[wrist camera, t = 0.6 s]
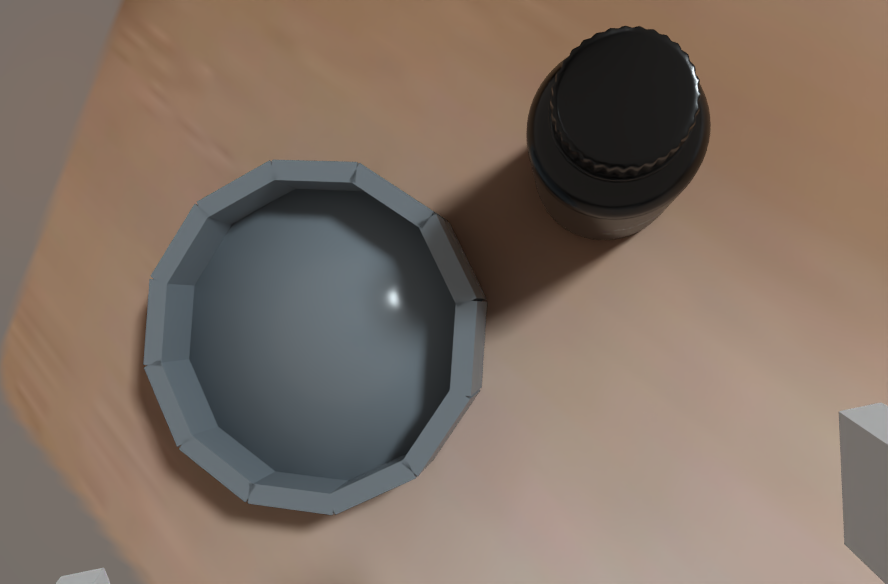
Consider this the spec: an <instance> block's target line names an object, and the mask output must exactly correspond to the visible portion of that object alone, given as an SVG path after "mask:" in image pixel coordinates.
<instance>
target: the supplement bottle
mask: <svg viewBox="0 0 888 584" xmlns="http://www.w3.org/2000/svg"><path fill="white" fill-rule="evenodd" d="M699 82H700V80H699V78H698V77H697V76H696V74H695V66H694V65H693V64H692V63H691V62H690V60H689V56H688V54H687V53H686V52H684V51H682V50H681V47H680V46H679V44H678V43H676V42H673V41H671V40H670V38H669V37H668V36H667V35H661V34H659V33H658V32H657V31H655V30H654V29H648V30H646V29H644V28H642V27H640V26H638V27H634V28H631V27H628V26H623V27H621V28H619V29H616V28H610V29H608V30H607V31H605V32H600V33H596V34H595V35H594V36H593V37H592V38H590V39H586V40H583V42H582V43H581V45H580V46H579V47H576V48H574V49H573V50H572V51H571V53H570V56H568V57H567V58H566V59H564V60H563V61H562V62H560V63H559V64H558V65H557V66H556V67H555V68H554V69H553V70H552V71H551V72H550V73H549V74H548V76H547V77H546V78H545V80H544V81H543V82H542V84H541V85H540V87H539V89H538V90H537V92H536V94H535V97H534V99H533V101H532V104H531V107H530V111H529V115H528V121H527V147H528V153H529V158H530V162H531V166H532V170H533V175H534V179H535V183H536V187H537V190H538V193H539V196H540V199H541V201H542V203H543V205H544V207H545V208H546V210H547V211H548V213H549V214H550V215H551V216H552V217H553V219H554V220H555V221H556V222H558V223H559V224H560V225H561V226H562V227H564V228H565V229H567V230H569V231H570V232H572V233H574V234H576V235H579V236H582V237H585V238H589V239H596V240H613V239H619V238H623V237H626V236H629V235H632V234H634V233H636V232H639V231H640V230H642V229H644V228H645V227H647V226H648V225H650V224H651V223H652V222H653V221H654V220H655V219H657V218H658V217H659V216H660V215H661V214H662V213H663V211H664V210H665V209H666V208H667V207H668V206H669V205H670V204H671V203H672V202H673V201H674V200H675V199H676V197H677V196H678V195H679V194H680V193H681V192H682V191H683V190H684V189H685V188H686V187H687V185H688V184H689V183H690V182H691V180H692V179H693V177H694V176H695V174H696V173H697V171H698V169H699V167H700V165H701V163H702V161H703V159H704V156H705V154H706V151H707V147H708V143H709V137H710V113H709V107H708V103H707V99H706V96H705V94H704V91H703V89H702V87H701V85H700V83H699Z"/></svg>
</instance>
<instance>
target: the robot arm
mask: <svg viewBox="0 0 888 584" xmlns="http://www.w3.org/2000/svg"><path fill="white" fill-rule="evenodd" d="M839 429H840V452H841V475H842V498H843V521H844V544H845V545H846V546H847V547H848V548H849V549H850V550H851V551H852V552H853V553H854V554H855V555H856V556H857V557H858V558H859V559H860V560H861V561H862V562H864V563H865V564H866V565H867V566H868V567H869V568H870V569H871V570H872V571H873V572H874V573H875V574H876V575H877V576H878V577H879V578H880V579H881V580H882V581H883V582H884V583H885V584H888V406H886V405H884V404H883V403H876V404H872V405H867V406H862V407H858V408H853V409H848V410H844V411H839ZM56 584H110V582H109V579H108V576H107V574H106V571H105V569H104V568H99V569H95V570H90V571H85V572H80V573H76V574H71V575H67V576H62V577H60V578H59V580H58V581H57V582H56Z"/></svg>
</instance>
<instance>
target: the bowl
mask: <svg viewBox="0 0 888 584" xmlns="http://www.w3.org/2000/svg"><path fill="white" fill-rule="evenodd" d="M197 204H198V205H197ZM197 204H194V206H193V207H192V209H191V211H190V212H189V214H188V216H187V217H186V219H185V221H184V222H183V224H182V225H181V227H180V229H179V230H178V232H177V234H176V235H175V237H174V239H173V240H172V242H171V243H170V245H169V247H168V248H167V250H166V252H165V253H164V255H163V257H162V258H161V260H160V262H159V263H158V265H157V266H156V268H155V270H154V271H153V273H152V275H151V277H152V278H154V279H150V281H149V295H148V308H147V322H146V336H145V350H144V363H143V365H148V366H146V367H144V369H145V371H146V374H147V376H148V379H149V381H150V383H151V386H152V388H153V391H154V393H155V395H156V398H157V400H158V402H159V405H160V407H161V410H162V412H163V414H164V417H165V419H166V421H167V424H168V426H169V429H170V431H171V433H172V436H173V438H174V441H175V443H176V445H177V447H178V446H181V447H180V448H179V450H181V451H182V452H183V453H184V454H186V455H187V456H188V457H189V458H191V459H192V460H193V461H194V462H196V463H197V464H198V465H199V466H201V467H202V468H203V469H204V470H206V471H207V472H208V473H209V474H211V475H212V476H213V477H214V478H215V479H217V480H218V481H219V482H220V483H222V484H223V485H224V486H225V487H227V488H228V489H229V490H230V491H232V492H233V493H234V494H235V495H237V496H238V497H239V498H240V499H242V500H243V501H244V502H247V501H248V504H255V505H262V506H269V507H277V508H284V509H291V510H299V511H306V512H313V513H320V514H328V515H333V514H334V513H335V515H336V514H338V513H340V512H342V511H345V510H347V509H349V508H351V507H353V506H356V505H358V504H360V503H362V502H364V501H367V500H369V499H371V498H373V497H375V496H378V495H380V494H382V493H384V492H386V491H389V490H391V489H393V488H395V487H397V486H400V485H402V484H404V483H406V482H408V481H411V480H413V479H415V478H416V477H417V476H419V475H420V474H421V472H422V471H423V470H424V469H425V468H426V467H427V466H428V465H429V464H430V463H431V462H432V461H433V460H434V459H435V457H436V456H437V454H438V453H439V451H440V450H441V448H442V447H443V445H444V444H445V442H446V441H447V439H448V438H449V436H450V435H451V433H452V432H453V430H454V429H455V427H456V426H457V424H458V423H459V421H460V420H461V419H462V417H463V416H464V414H465V413H466V411H467V410H468V408H469V407H470V405H471V404H472V402H473V401H474V399H475V398H476V396H477V395H478V393H479V392H480V388H481V387H482V373H483V358H484V343H485V328H486V313H487V302H482V301H484V300H486V297H485V294H484V292H483V290H482V288H481V286H480V284H479V282H478V280H477V278H476V276H475V274H474V272H473V270H472V268H471V266H470V264H469V262H468V260H467V258H466V256H465V253H464V251H463V249H462V247H461V245H460V243H459V241H458V239H457V237H456V235H455V233H454V231H453V229H452V227H451V225H450V223H449V222H448V221H447V220H445V219H444V218H442V217H441V216H440V215H438V214H437V213H435V212H434V211H432V210H431V209H429V208H428V207H426V206H424V205H423V204H421V203H420V202H418V201H417V200H415V199H414V198H412V197H411V196H409V195H408V194H406V193H405V192H403V191H402V190H400V189H399V188H397V187H396V186H394V185H393V184H391V183H389V182H388V181H386V180H385V179H383V178H382V177H380V176H379V175H377V174H376V173H374V172H373V171H371V170H370V169H368V168H367V167H365V166H364V165H362V164H361V163H358V162H338V161H300V160H272V161H270V160H269V161H268V162H266V163H264V164H262V165H261V166H259V167H257V168H255V169H254V170H252V171H250V172H248V173H247V174H245V175H243V176H241V177H239V178H238V179H236V180H234V181H232V182H231V183H229V184H227V185H225V186H224V187H222V188H220V189H218V190H217V191H215V192H213V193H211V194H210V195H208V196H206V197H204V198H203V199H201V200H199V201H197Z"/></svg>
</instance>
